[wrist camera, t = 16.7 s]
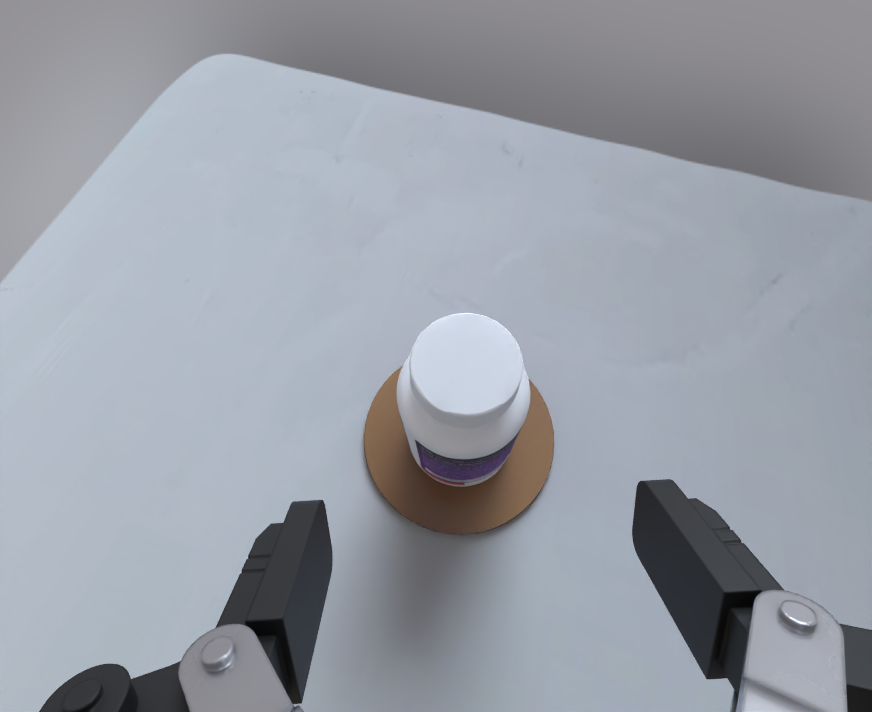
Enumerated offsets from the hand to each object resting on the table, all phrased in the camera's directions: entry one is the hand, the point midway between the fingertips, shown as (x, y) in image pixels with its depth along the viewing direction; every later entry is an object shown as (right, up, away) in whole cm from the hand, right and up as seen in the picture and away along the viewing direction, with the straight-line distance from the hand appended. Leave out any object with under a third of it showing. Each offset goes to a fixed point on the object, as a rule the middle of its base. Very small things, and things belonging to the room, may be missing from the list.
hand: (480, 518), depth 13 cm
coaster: (0, 0, +14) cm, 14 cm away
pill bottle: (0, 0, +13) cm, 13 cm away
